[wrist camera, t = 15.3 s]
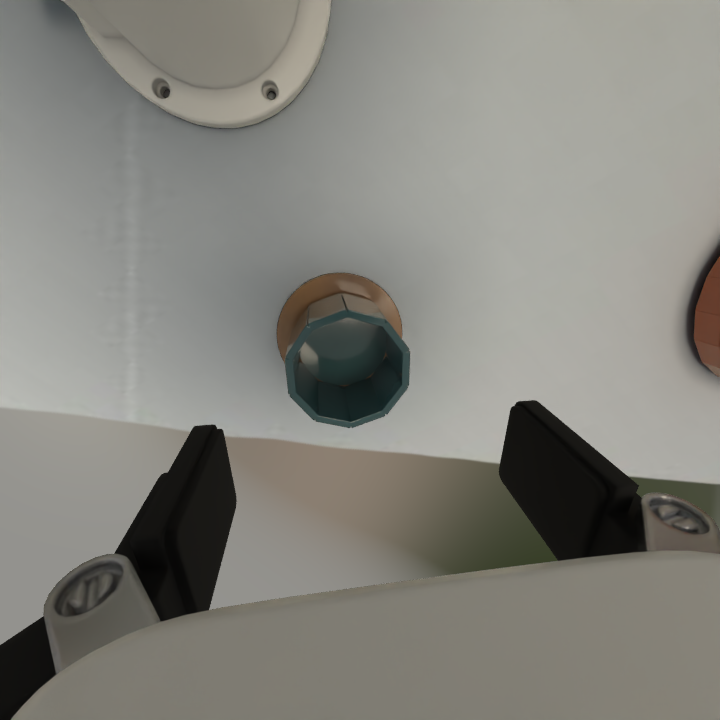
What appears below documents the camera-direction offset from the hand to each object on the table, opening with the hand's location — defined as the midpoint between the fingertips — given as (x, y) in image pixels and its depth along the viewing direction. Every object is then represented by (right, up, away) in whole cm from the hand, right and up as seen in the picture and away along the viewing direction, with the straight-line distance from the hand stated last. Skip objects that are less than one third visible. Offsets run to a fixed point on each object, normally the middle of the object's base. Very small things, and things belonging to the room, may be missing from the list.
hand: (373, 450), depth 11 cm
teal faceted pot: (-2, +4, +14) cm, 14 cm away
